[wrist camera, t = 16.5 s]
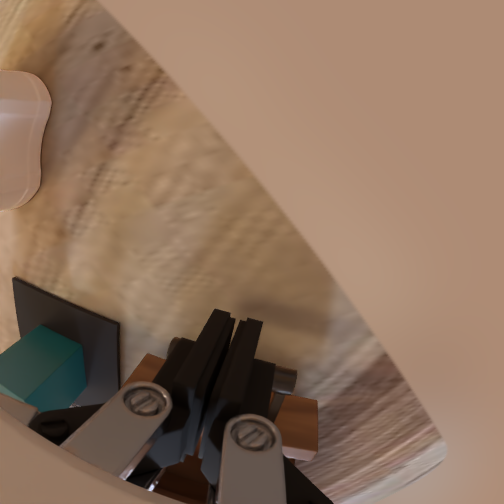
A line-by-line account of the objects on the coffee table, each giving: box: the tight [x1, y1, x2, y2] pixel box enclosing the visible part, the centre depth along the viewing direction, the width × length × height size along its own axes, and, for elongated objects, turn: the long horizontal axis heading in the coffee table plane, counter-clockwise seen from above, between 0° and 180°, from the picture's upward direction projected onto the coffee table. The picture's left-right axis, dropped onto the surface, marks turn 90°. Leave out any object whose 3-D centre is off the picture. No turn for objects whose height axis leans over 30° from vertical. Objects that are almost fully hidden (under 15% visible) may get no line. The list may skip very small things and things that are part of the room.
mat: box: [12, 277, 120, 406], centre depth 24 cm, size 12×12×1 cm
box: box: [0, 324, 87, 412], centre depth 20 cm, size 5×5×8 cm
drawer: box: [122, 337, 318, 502], centre depth 20 cm, size 19×12×5 cm, turn 167°
